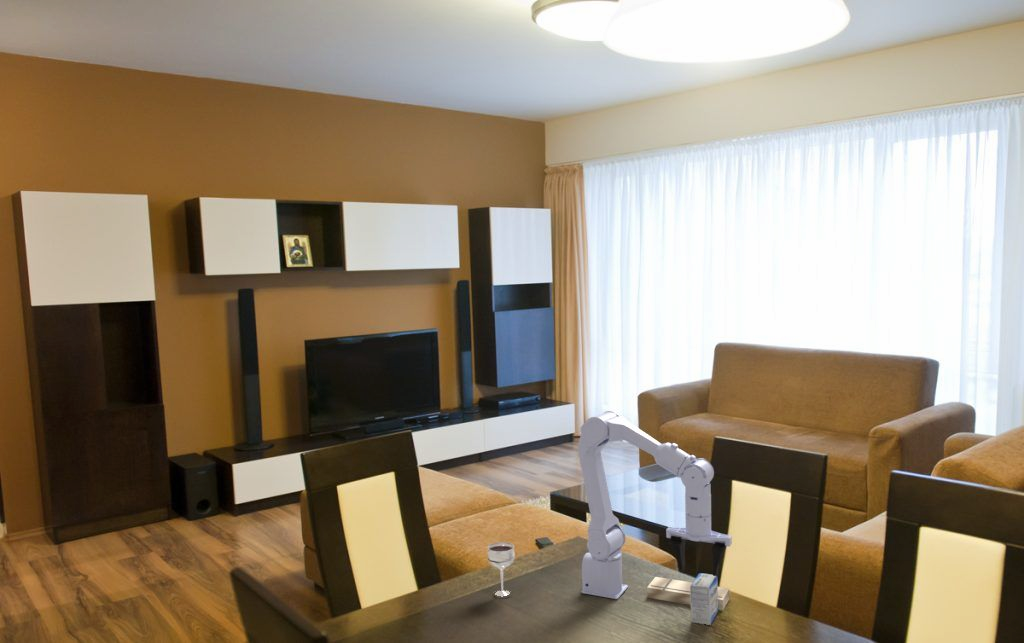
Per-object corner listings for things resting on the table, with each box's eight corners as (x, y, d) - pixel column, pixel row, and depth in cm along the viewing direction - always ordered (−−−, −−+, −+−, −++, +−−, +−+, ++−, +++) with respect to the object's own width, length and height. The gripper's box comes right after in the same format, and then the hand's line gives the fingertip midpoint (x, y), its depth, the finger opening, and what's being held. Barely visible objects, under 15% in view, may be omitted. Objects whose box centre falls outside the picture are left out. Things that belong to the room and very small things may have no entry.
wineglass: (510, 601, 184) (508, 553, 183) (484, 598, 187) (482, 550, 186) (520, 590, 190) (518, 543, 190) (495, 587, 193) (493, 540, 192)
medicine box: (710, 626, 168) (710, 588, 168) (690, 622, 171) (689, 584, 170) (718, 612, 175) (717, 575, 175) (698, 608, 178) (698, 572, 177)
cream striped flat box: (647, 597, 184) (647, 586, 184) (655, 586, 190) (655, 576, 190) (723, 610, 176) (722, 599, 176) (729, 598, 182) (729, 587, 182)
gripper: (662, 514, 174) (662, 572, 175) (726, 523, 168) (727, 583, 169) (670, 506, 181) (671, 562, 182) (733, 513, 174) (733, 572, 175)
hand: (698, 571), depth 175 cm, fingers open, 7 cm apart
